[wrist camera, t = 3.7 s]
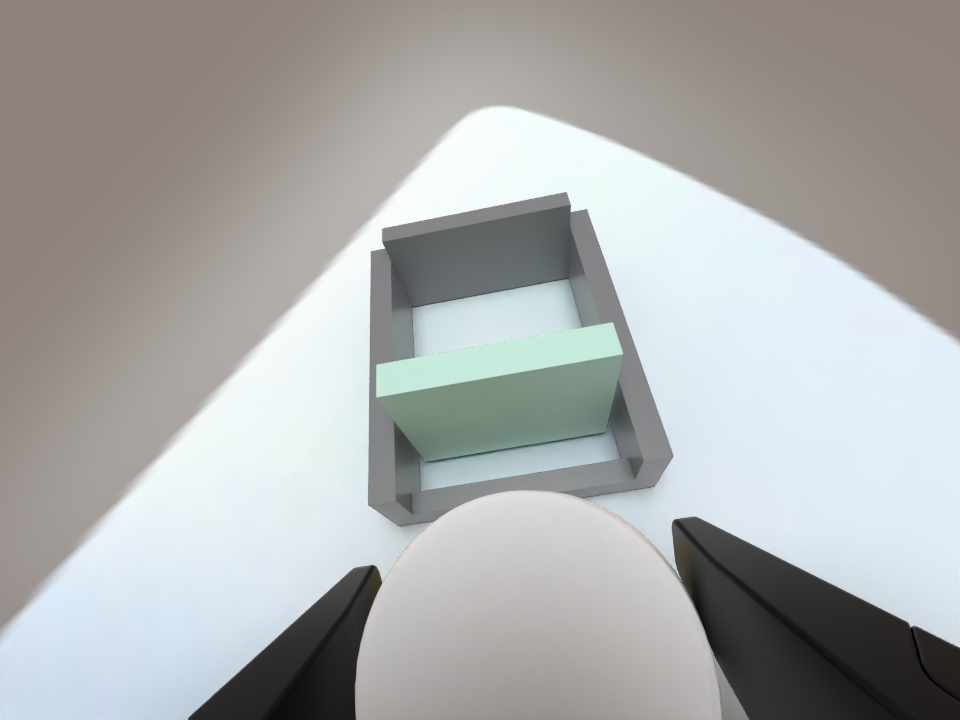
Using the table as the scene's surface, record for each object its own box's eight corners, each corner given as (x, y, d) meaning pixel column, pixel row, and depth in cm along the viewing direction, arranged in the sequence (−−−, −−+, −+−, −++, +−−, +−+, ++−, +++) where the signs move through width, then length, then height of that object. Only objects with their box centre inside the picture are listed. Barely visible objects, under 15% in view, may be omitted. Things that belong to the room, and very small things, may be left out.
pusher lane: (654, 486, 15) (681, 443, 12) (399, 526, 16) (355, 495, 12) (583, 262, 20) (588, 187, 17) (393, 298, 21) (361, 232, 18)
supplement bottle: (417, 659, 14) (197, 694, 5) (529, 511, 15) (493, 362, 7) (572, 830, 11) (607, 1358, 3) (683, 633, 13) (901, 627, 5)
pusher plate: (605, 432, 16) (623, 354, 12) (425, 461, 16) (376, 397, 12) (598, 406, 17) (612, 322, 12) (424, 435, 17) (376, 364, 13)
